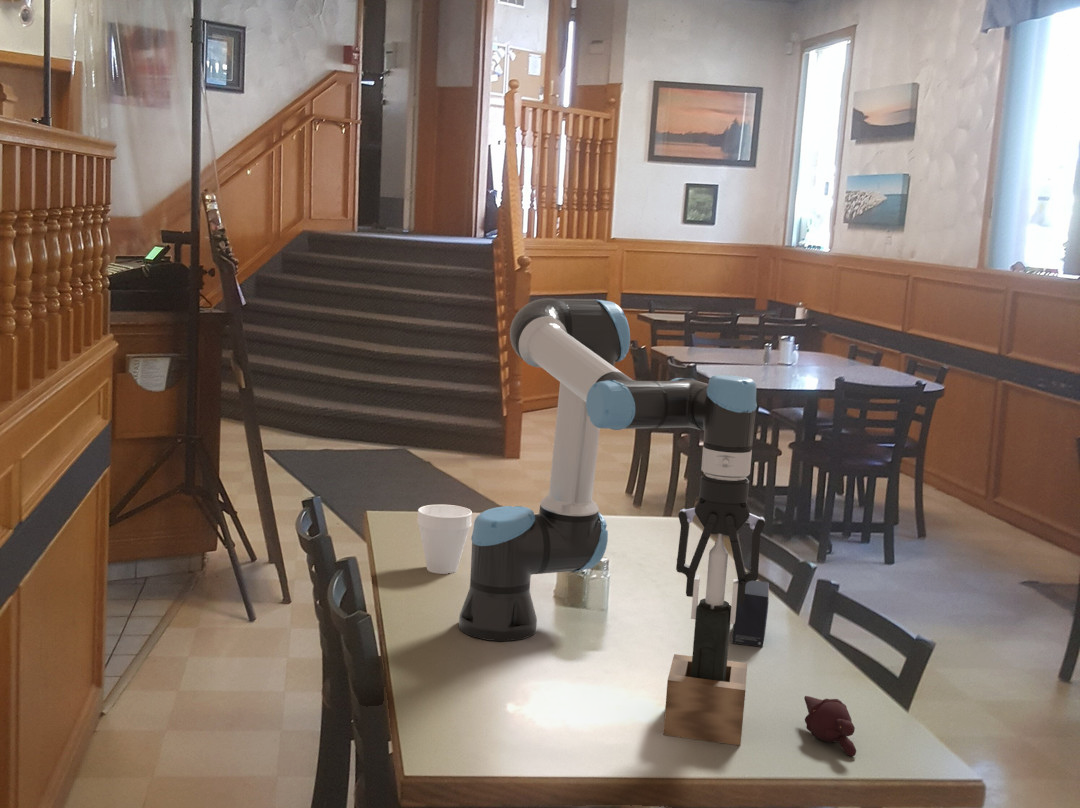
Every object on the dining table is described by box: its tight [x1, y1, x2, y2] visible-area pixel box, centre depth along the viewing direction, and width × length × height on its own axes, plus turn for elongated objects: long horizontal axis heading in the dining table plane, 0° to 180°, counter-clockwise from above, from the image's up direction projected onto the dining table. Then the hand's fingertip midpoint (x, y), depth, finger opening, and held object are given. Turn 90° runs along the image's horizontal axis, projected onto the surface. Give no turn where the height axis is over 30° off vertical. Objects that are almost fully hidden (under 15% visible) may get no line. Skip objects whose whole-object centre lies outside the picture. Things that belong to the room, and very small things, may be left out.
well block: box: [662, 653, 748, 746], centre depth 188 cm, size 12×12×9 cm
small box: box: [731, 580, 770, 648], centre depth 232 cm, size 11×6×10 cm, turn 168°
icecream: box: [804, 695, 857, 757], centre depth 186 cm, size 7×7×15 cm
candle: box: [691, 534, 731, 682], centre depth 186 cm, size 5×5×25 cm
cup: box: [416, 504, 473, 575], centre depth 265 cm, size 12×12×14 cm
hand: (713, 618), depth 186 cm, fingers closed on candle, 5 cm apart
